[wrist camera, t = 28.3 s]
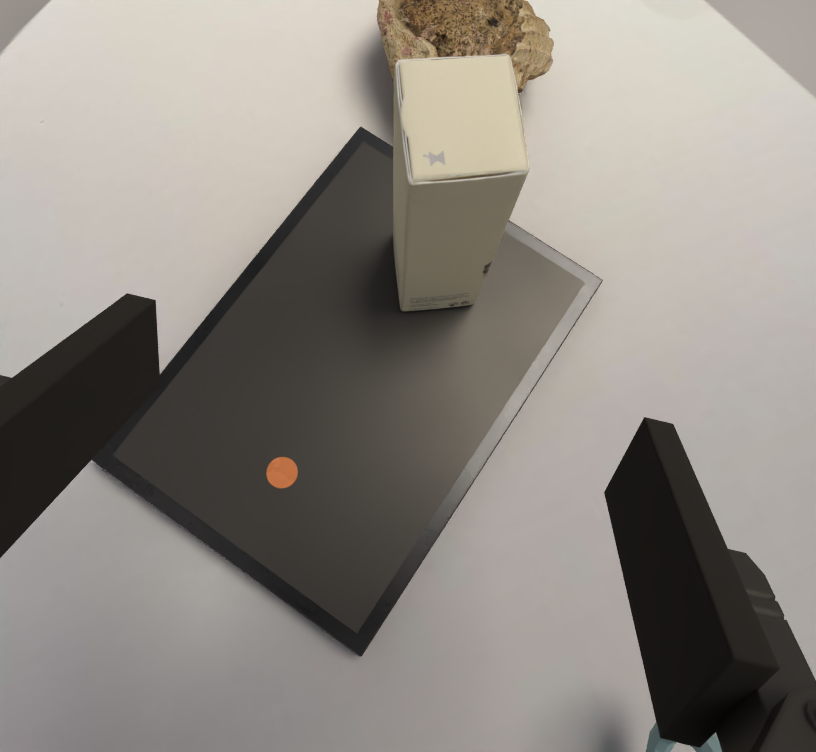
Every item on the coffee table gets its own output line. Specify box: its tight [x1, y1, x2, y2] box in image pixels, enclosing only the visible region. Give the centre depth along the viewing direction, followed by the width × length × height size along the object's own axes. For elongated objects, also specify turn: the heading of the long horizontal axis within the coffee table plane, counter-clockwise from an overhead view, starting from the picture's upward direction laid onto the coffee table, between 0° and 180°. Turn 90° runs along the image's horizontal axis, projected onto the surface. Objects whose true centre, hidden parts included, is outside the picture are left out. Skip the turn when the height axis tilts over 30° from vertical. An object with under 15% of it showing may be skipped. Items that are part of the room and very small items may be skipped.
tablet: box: [92, 127, 603, 656], centre depth 31 cm, size 17×24×1 cm
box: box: [393, 54, 529, 311], centre depth 26 cm, size 5×4×13 cm
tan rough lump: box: [377, 0, 554, 93], centre depth 33 cm, size 11×7×10 cm
